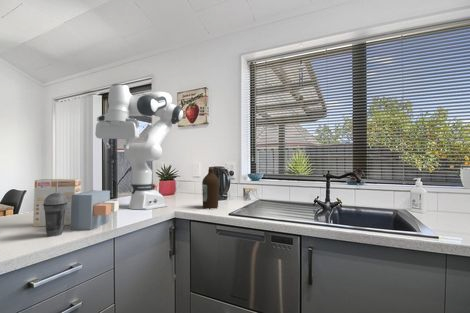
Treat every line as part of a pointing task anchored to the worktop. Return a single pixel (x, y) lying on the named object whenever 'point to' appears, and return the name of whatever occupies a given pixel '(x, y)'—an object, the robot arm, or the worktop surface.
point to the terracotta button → (101, 209)
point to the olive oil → (210, 189)
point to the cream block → (113, 205)
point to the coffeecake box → (49, 187)
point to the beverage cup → (55, 213)
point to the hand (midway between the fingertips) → (116, 148)
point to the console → (87, 210)
